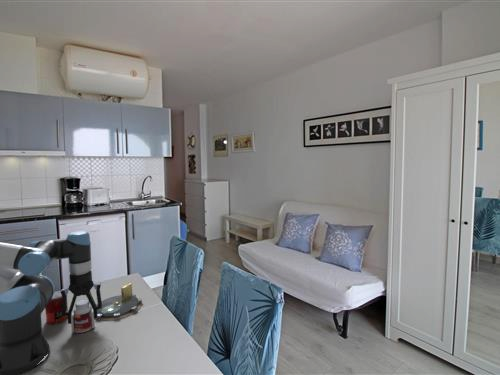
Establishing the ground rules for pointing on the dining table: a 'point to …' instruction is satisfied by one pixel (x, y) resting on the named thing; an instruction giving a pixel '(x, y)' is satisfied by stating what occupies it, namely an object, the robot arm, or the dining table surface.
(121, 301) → the sprocket
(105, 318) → the base
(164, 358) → the dining table surface
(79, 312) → the pill bottle
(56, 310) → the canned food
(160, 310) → the dining table surface
